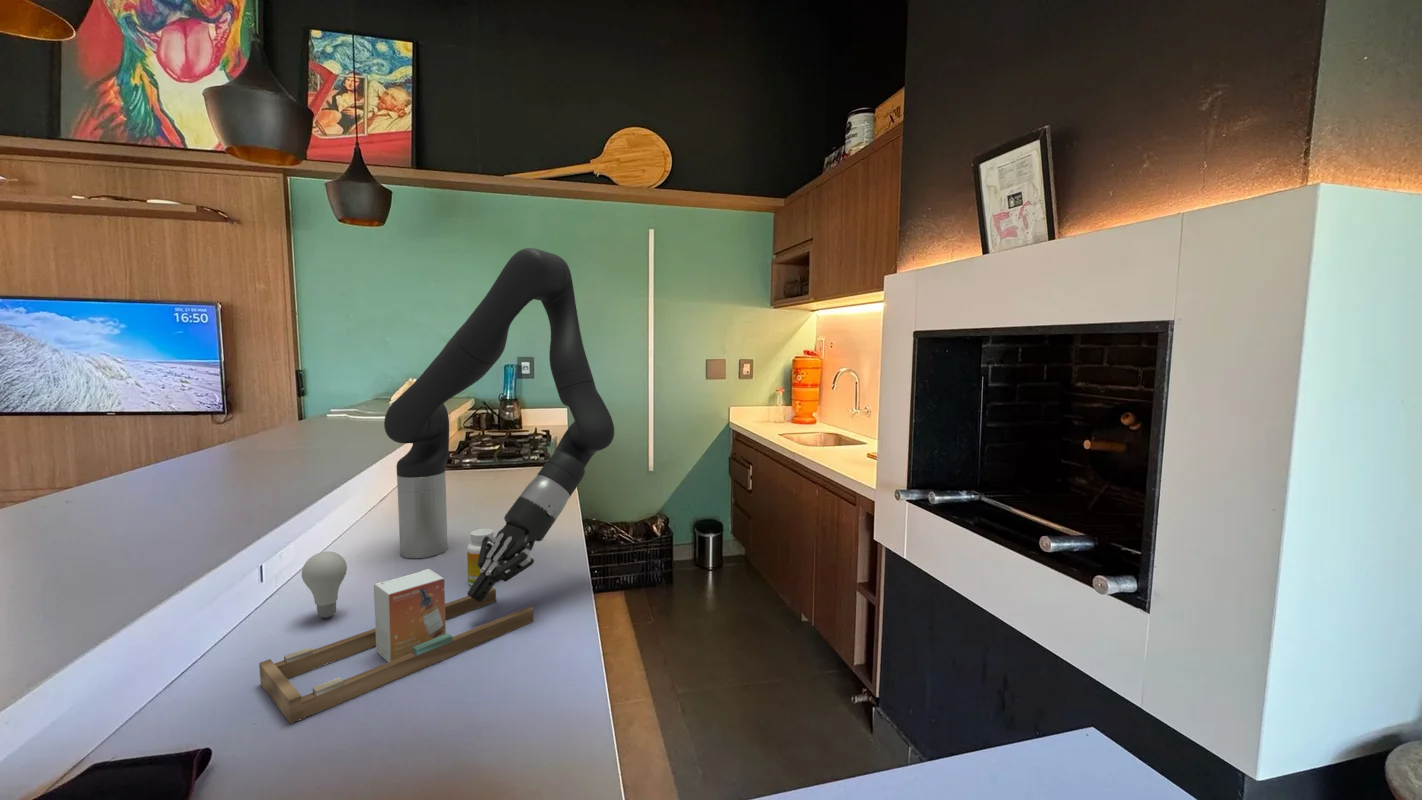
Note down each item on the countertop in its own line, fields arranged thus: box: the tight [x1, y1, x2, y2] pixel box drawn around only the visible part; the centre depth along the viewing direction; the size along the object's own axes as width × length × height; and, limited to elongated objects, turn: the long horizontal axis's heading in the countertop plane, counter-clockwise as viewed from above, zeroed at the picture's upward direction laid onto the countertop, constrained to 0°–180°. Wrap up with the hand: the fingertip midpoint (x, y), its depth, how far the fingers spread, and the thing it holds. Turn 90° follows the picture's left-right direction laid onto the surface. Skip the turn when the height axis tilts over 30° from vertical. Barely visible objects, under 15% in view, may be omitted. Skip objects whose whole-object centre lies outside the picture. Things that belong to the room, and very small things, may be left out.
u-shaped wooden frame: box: [258, 587, 534, 724], centre depth 85 cm, size 12×33×3 cm, turn 141°
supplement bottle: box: [466, 528, 494, 587], centre depth 109 cm, size 5×5×10 cm
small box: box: [373, 568, 447, 663], centre depth 85 cm, size 8×6×10 cm
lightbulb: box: [301, 550, 348, 619], centre depth 94 cm, size 6×6×11 cm
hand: (473, 598), depth 92 cm, fingers closed
